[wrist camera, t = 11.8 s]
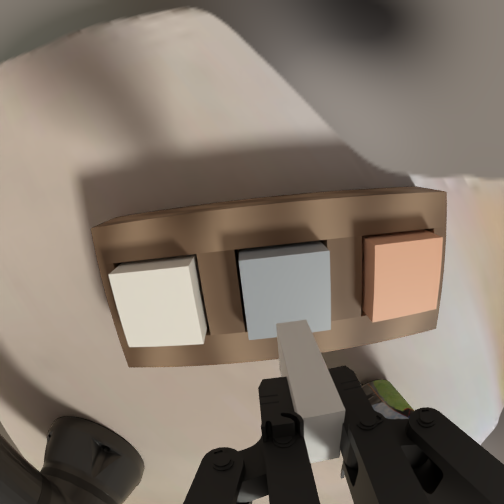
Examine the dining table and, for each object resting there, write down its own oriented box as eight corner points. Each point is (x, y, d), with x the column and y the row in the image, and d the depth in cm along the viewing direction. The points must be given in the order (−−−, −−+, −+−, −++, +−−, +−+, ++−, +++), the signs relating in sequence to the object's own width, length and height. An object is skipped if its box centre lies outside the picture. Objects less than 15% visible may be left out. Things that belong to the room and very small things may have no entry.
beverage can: (344, 380, 30) (379, 463, 19) (403, 366, 30) (452, 437, 19) (341, 418, 32) (367, 496, 20) (396, 404, 32) (433, 473, 20)
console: (144, 338, 28) (128, 367, 23) (116, 217, 25) (90, 228, 20) (411, 306, 28) (435, 328, 23) (415, 186, 25) (446, 191, 20)
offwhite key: (143, 322, 25) (129, 347, 21) (127, 258, 23) (108, 274, 19) (209, 318, 25) (203, 344, 21) (197, 250, 23) (188, 266, 19)
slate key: (248, 314, 25) (248, 340, 21) (239, 245, 23) (238, 260, 19) (318, 306, 25) (330, 329, 21) (315, 236, 23) (329, 250, 19)
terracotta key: (355, 300, 25) (372, 322, 21) (354, 232, 23) (374, 245, 19) (413, 290, 25) (436, 308, 21) (416, 226, 23) (442, 237, 19)
